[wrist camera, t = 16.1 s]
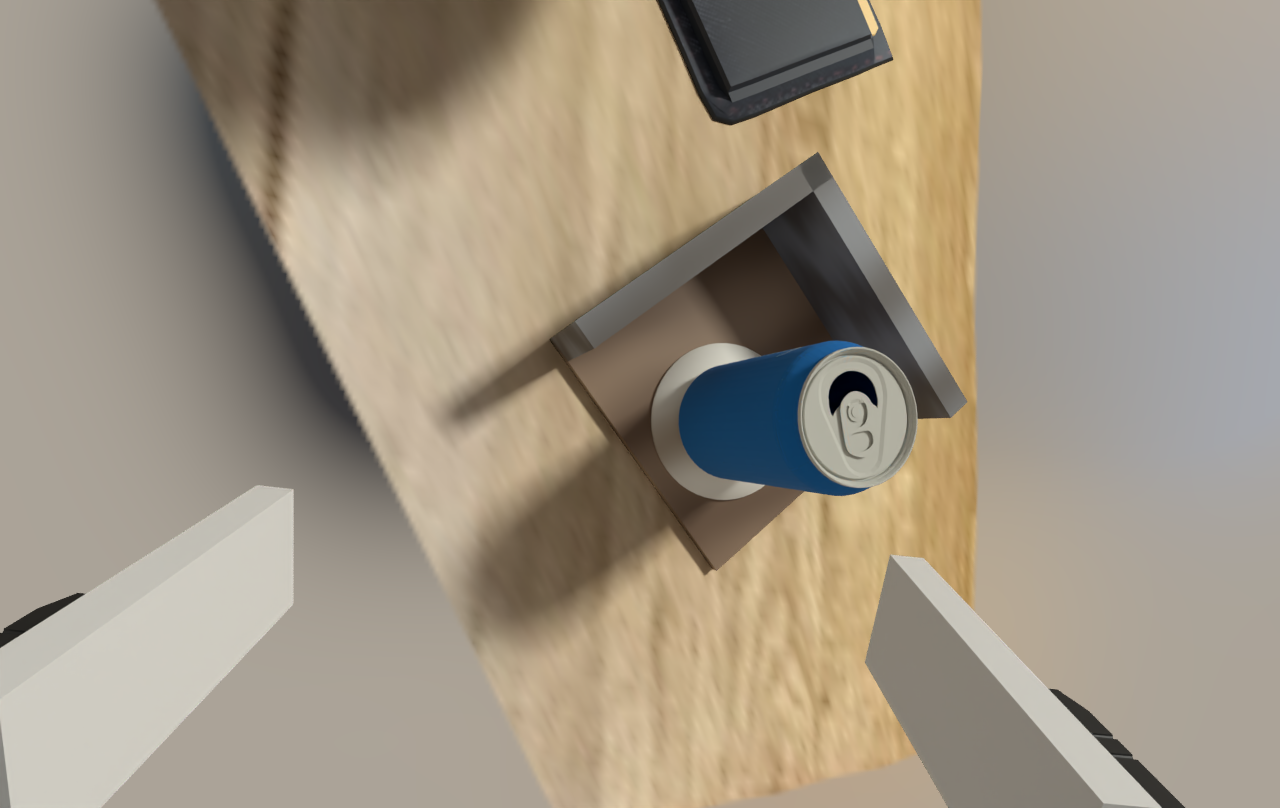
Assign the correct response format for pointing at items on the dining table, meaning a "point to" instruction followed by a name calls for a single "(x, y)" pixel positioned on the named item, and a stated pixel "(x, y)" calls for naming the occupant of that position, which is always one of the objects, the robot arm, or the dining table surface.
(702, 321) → the corner tray
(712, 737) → the dining table surface
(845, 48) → the dark grey flat rectangle
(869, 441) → the beverage can
